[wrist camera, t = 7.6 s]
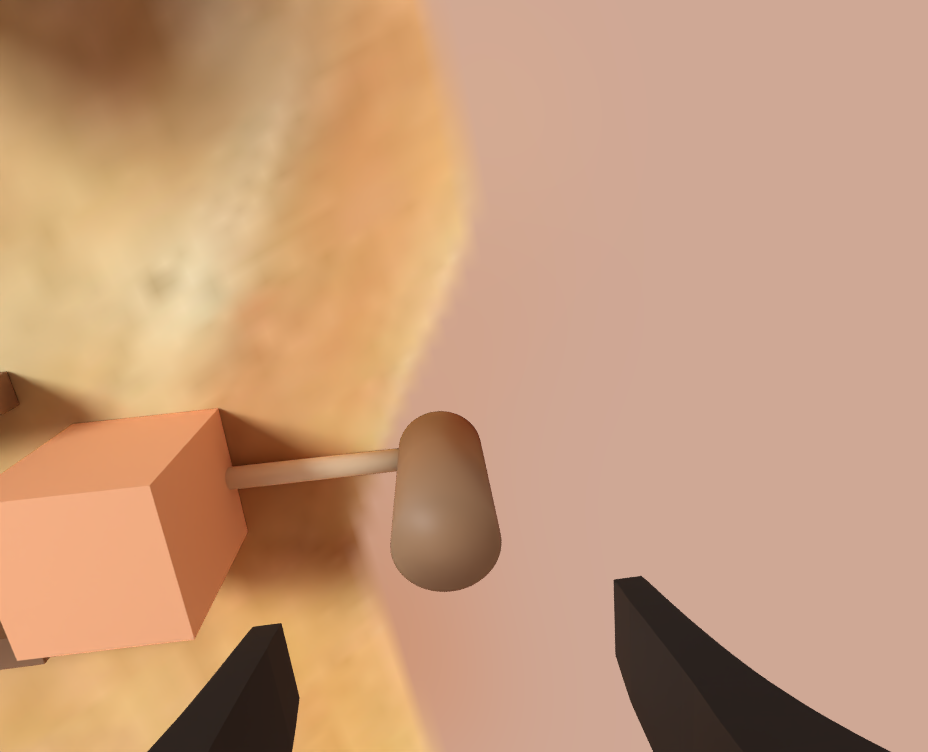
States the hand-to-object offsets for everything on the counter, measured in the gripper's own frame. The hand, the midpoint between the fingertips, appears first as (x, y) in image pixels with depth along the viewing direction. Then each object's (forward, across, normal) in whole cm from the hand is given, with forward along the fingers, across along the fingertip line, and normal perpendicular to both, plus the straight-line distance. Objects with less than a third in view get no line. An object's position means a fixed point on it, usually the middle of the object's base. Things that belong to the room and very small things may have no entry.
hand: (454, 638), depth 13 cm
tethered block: (+9, +5, 0) cm, 11 cm away
